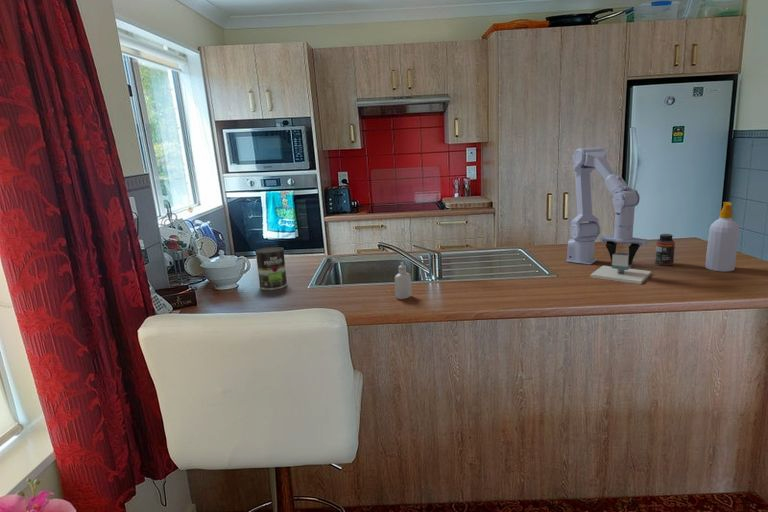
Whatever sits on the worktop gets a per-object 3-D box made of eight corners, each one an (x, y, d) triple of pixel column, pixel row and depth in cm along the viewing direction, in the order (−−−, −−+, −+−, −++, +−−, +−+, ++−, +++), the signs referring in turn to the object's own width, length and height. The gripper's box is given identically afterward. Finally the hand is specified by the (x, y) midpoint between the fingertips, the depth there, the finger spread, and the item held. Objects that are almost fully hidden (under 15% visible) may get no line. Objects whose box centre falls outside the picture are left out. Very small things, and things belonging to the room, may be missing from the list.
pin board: (590, 277, 164) (591, 264, 163) (602, 268, 175) (603, 256, 174) (640, 284, 154) (641, 271, 153) (650, 274, 164) (651, 261, 163)
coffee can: (290, 286, 173) (286, 250, 170) (263, 292, 169) (258, 254, 165) (283, 280, 182) (279, 245, 179) (256, 285, 178) (252, 249, 174)
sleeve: (611, 268, 164) (612, 254, 162) (615, 265, 167) (616, 251, 166) (627, 270, 160) (628, 256, 159) (631, 266, 164) (632, 253, 163)
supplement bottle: (668, 261, 178) (671, 232, 175) (676, 266, 172) (679, 236, 169) (651, 262, 178) (654, 233, 176) (659, 266, 173) (661, 236, 170)
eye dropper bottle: (394, 295, 156) (392, 261, 154) (410, 294, 157) (409, 259, 154) (396, 300, 152) (394, 264, 149) (413, 298, 153) (411, 263, 150)
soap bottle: (708, 271, 163) (716, 204, 157) (702, 264, 171) (709, 200, 166) (738, 273, 160) (747, 204, 154) (730, 266, 168) (738, 200, 163)
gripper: (598, 225, 162) (596, 263, 165) (644, 229, 152) (641, 269, 156) (604, 222, 167) (602, 259, 170) (649, 225, 158) (646, 264, 161)
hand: (621, 263), depth 163 cm, fingers closed on sleeve, 5 cm apart
